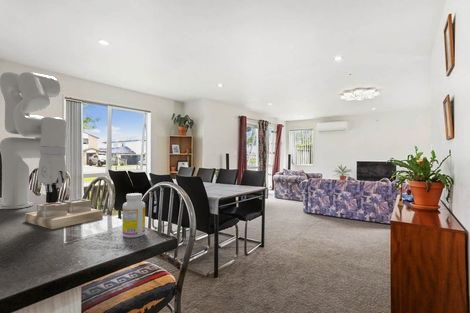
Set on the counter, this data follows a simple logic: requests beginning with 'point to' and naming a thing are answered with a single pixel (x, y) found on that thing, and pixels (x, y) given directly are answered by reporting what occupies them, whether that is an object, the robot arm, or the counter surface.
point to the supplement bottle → (133, 216)
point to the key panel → (63, 214)
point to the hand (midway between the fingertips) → (51, 202)
